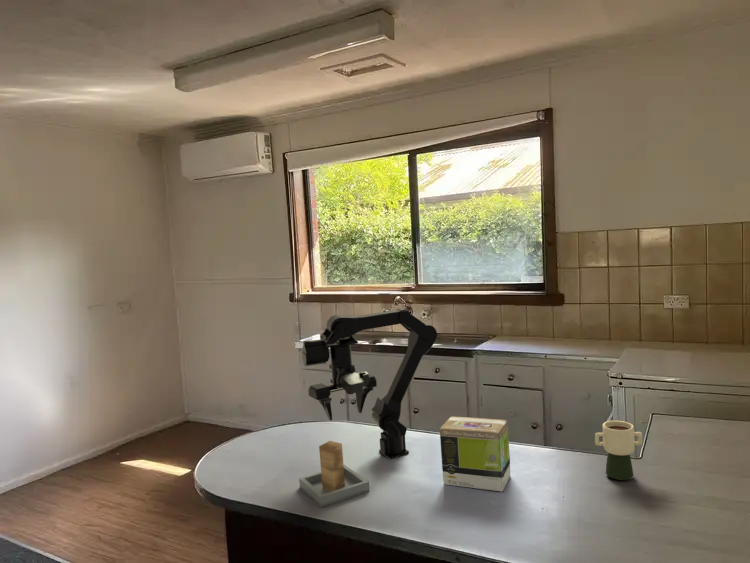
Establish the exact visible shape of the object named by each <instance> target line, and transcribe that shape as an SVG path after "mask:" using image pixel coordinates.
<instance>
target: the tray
mask: <svg viewBox="0 0 750 563" xmlns="http://www.w3.org/2000/svg"><path fill="white" fill-rule="evenodd" d="M343 465H344V478H345V486H344V487H343V488H341V489H338V490H335V491H328V490H325V489H323V488H322V476H321V471H318V472H316V473H311V474H309V475H305V476H302V477H299V488H300V489H301V490H302V491H303V492H304V493H306V495H307V496H308V497H310V498H311V500H313V501H314V502H315V503H316V504H317V505H318V506H319V507H320V508H324V507H327V506H331V505H333V504H336V503H340V502H343V501H345V500H347V499H351V498H354V497H357V496H360V495H363V494H367V493H369V492H370V483H369V481H368V480H367V479H366V478H364V477H363V476H361V475H359V474H358V473H357V472H355V470H353V469H351V468H350V467H349V466H347V465H345V464H343Z"/></svg>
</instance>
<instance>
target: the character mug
mask: <svg viewBox="0 0 750 563" xmlns="http://www.w3.org/2000/svg"><path fill="white" fill-rule="evenodd" d="M600 437H602V441H600ZM635 437H637V441H636V440H635ZM594 444H595V446H597V447H599V446H600V447H602V446H603V449H604V451H605V452H606V453H607V455H606V464H605V465H606V467H605V474H606V476H608V477H610V478H611V479H615V480H619V481H627V480H630V479H632V478H634V470H633V464H632V460H631V459H632V458H631V455H632V454H633V453H634V452H635V450H636V449H635V446H642V444H643V433H642V432H641V431H635V426H634V425H633V424H632V423H630V422H627V421H623V420H607V421H605V422H603V423H602V432H596V433H594Z"/></svg>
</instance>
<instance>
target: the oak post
mask: <svg viewBox="0 0 750 563" xmlns="http://www.w3.org/2000/svg"><path fill="white" fill-rule="evenodd" d="M318 448H319V449H318V450H319V463H320V472H321V476H322V488H323V489H325V490H328V491H335V490H338V489H341V488H343V487H344V486H345V478H344V465H345V464H344V456H343V444H342V442H341V443H340V442H336V441H333V440H329V441H327V442H325V443H322V444H321V445H319V446H318Z"/></svg>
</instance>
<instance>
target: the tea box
mask: <svg viewBox="0 0 750 563" xmlns="http://www.w3.org/2000/svg"><path fill="white" fill-rule="evenodd" d="M439 438H440V439H439V440H440V454H441V469H442V481H443V484H444V485H447V486H455V487H463V488H464V487H465V488H470V489H471V488H472V489H480V490H486V491H487V490H488V491H496V492H503V491H504V489H505V487H506V485H507V483H508V482H509V479H510V477H511V455H510V442H509V440H510V439H509V426H508V419H495V418H484V417H483V418H481V417H469V416H468V417H466V416H464V417H463V416H452V415H451V416H450V417H449V418H448V419H447V420H446V421H445V423H443V424H442V426H441V427H440V428H439Z"/></svg>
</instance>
